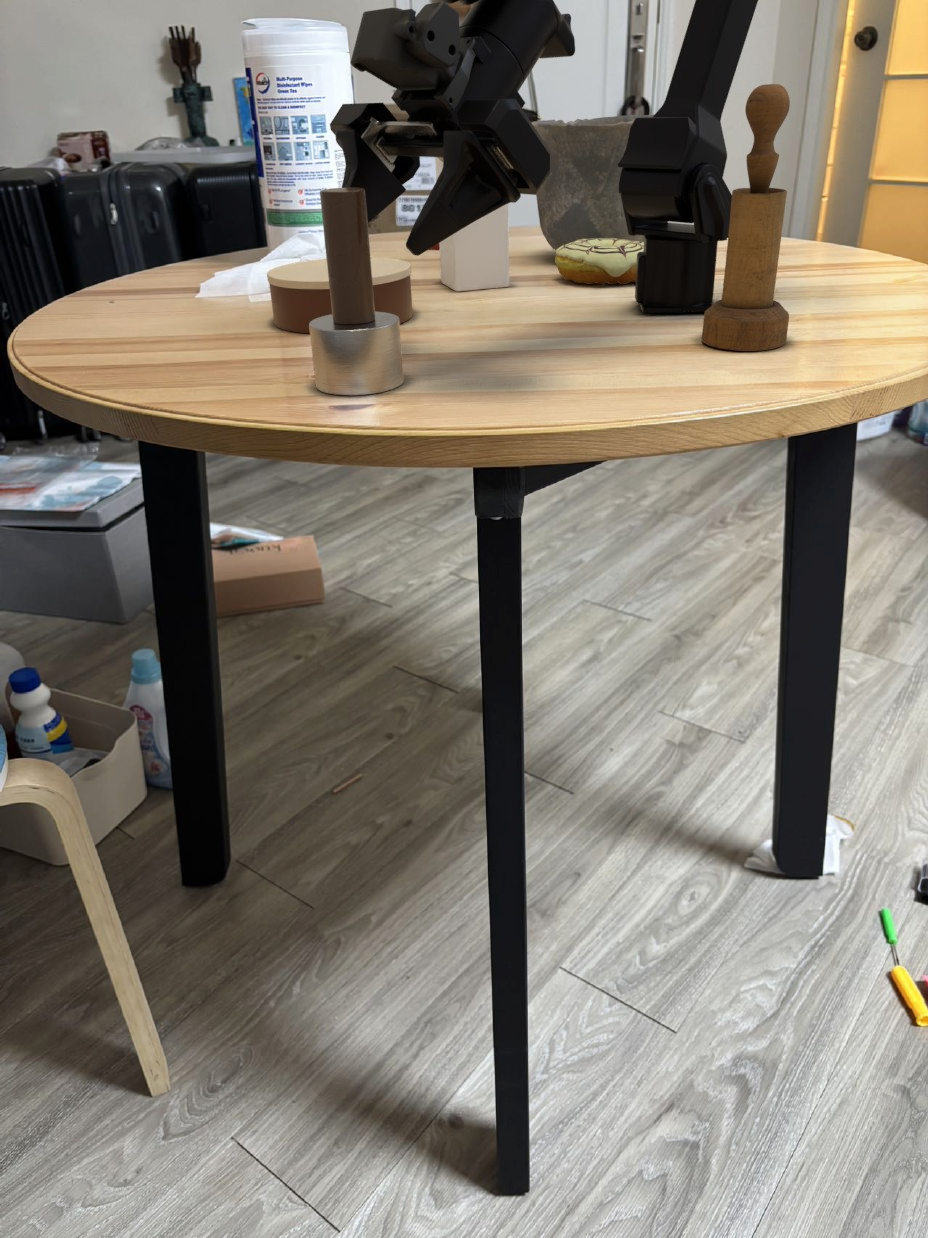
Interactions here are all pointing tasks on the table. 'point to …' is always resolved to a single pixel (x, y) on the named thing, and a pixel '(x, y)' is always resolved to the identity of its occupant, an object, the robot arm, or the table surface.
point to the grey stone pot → (584, 179)
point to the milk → (476, 252)
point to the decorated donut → (599, 260)
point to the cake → (307, 291)
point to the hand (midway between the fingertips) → (371, 245)
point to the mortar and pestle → (754, 241)
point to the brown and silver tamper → (352, 307)
